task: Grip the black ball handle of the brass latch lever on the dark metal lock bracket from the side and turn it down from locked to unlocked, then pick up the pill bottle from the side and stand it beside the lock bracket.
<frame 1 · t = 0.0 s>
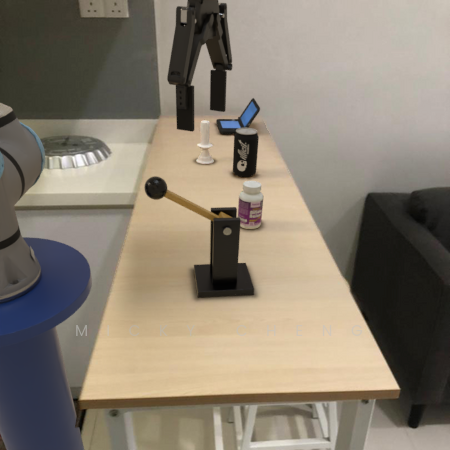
hand: (202, 119, 78), 26 cm above the table, tool pointing down, fingers open, 13 cm apart
candle: (205, 161, 138), on the table
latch: (190, 205, 76), point 15 cm above the table, hinge at 30.0°
game console: (236, 129, 167), on the table
lock bracket: (222, 282, 86), on the table
pill bottle: (249, 225, 105), on the table
beverage can: (244, 174, 131), on the table
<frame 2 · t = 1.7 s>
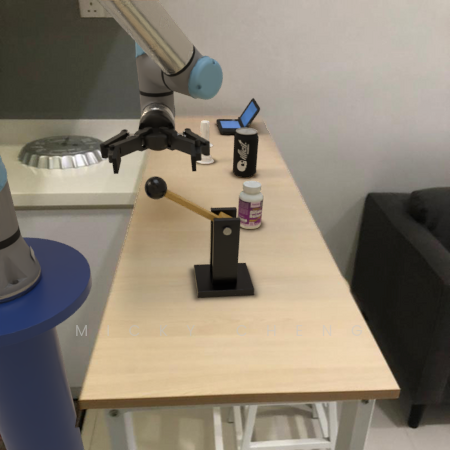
hand: (154, 165, 80), 19 cm above the table, tool horizontal, fingers open, 13 cm apart
nothing on the table moved.
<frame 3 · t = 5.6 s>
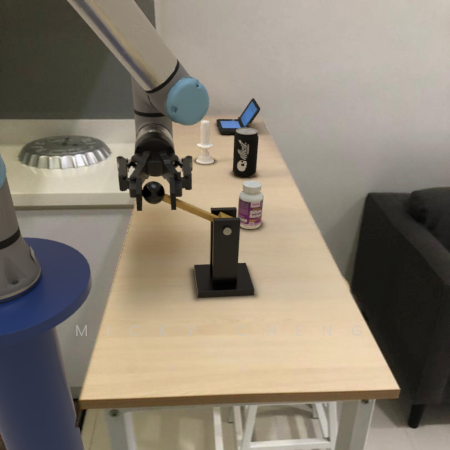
hand: (156, 202, 69), 19 cm above the table, tool horizontal, fingers closed on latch, 4 cm apart
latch: (189, 208, 76), point 15 cm above the table, hinge at 26.1°, touching gripper
everything else where it was.
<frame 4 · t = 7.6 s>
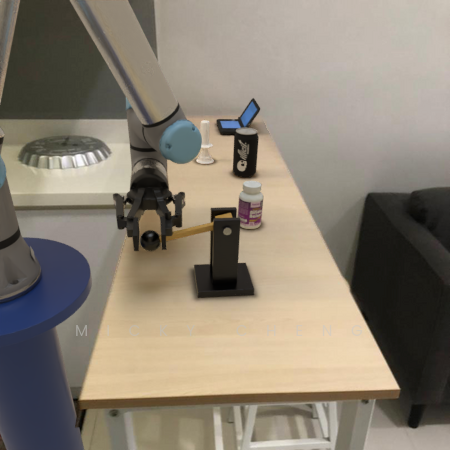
hand: (149, 242, 73), 12 cm above the table, tool horizontal, fingers open, 4 cm apart
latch: (186, 232, 79), point 11 cm above the table, hinge at -12.9°, touching gripper
everything else where it was.
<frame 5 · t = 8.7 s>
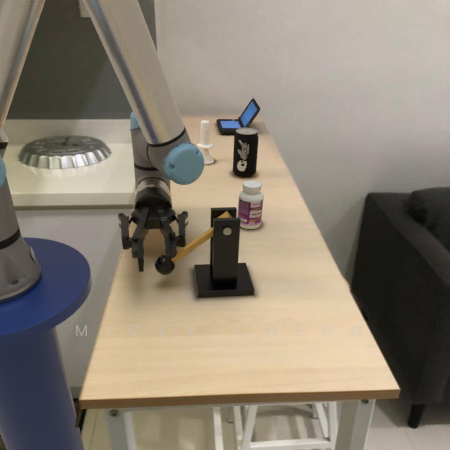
hand: (154, 264, 75), 8 cm above the table, tool horizontal, fingers open, 4 cm apart
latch: (193, 245, 80), point 8 cm above the table, hinge at -36.6°, touching gripper
everything else where it was.
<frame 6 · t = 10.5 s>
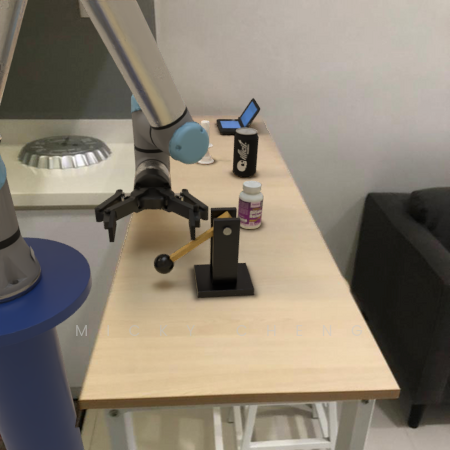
hand: (152, 234, 77), 11 cm above the table, tool horizontal, fingers open, 13 cm apart
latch: (192, 244, 80), point 8 cm above the table, hinge at -35.4°
everything else where it was.
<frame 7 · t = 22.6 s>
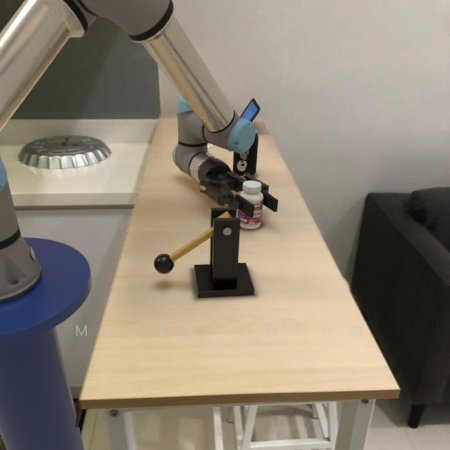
hand: (264, 208, 98), 6 cm above the table, tool horizontal, fingers closed on pill bottle, 5 cm apart
pill bottle: (249, 225, 105), on the table, touching gripper
everything else where it was.
when the fingers open (6 cm above the table, at t = 30.8 s): pill bottle stays where it is, on the table.
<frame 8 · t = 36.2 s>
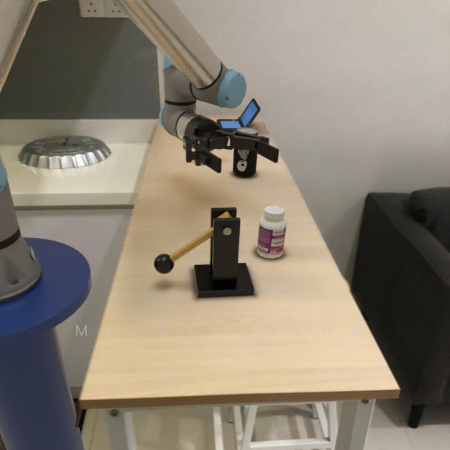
hand: (249, 161, 92), 16 cm above the table, tool horizontal, fingers open, 13 cm apart
pill bottle: (269, 253, 95), on the table
everything else where it was.
at the end: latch at -35° (first picture: +30°); pill bottle inside the target area on the table beside the lock bracket (0.0 cm from its centre), on the table; pill bottle tilted 0° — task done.
